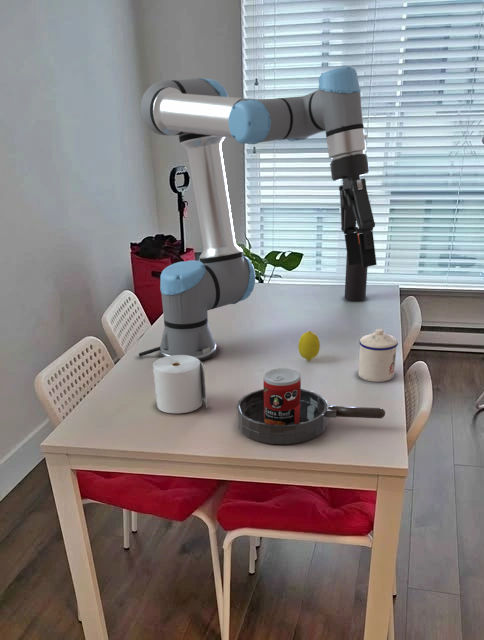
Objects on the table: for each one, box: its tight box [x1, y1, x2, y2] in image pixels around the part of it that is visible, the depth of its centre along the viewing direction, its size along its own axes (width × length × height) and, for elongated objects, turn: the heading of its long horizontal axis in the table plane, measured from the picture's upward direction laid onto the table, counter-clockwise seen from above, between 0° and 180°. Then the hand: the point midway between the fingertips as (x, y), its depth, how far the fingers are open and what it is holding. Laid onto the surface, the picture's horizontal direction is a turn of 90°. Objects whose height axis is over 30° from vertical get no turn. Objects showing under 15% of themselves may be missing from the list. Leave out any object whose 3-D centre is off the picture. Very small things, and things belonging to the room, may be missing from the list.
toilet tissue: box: [152, 355, 208, 414], centre depth 153 cm, size 11×12×10 cm
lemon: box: [297, 330, 321, 362], centre depth 174 cm, size 6×6×8 cm
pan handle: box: [327, 404, 386, 420], centre depth 141 cm, size 12×3×2 cm, turn 81°
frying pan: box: [236, 388, 329, 445], centre depth 144 cm, size 19×19×4 cm
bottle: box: [344, 235, 369, 302], centre depth 215 cm, size 7×7×20 cm
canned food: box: [262, 367, 302, 425], centre depth 142 cm, size 8×8×11 cm
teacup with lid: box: [357, 328, 399, 383], centre depth 164 cm, size 12×9×12 cm
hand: (361, 265), depth 142 cm, fingers open, 13 cm apart
